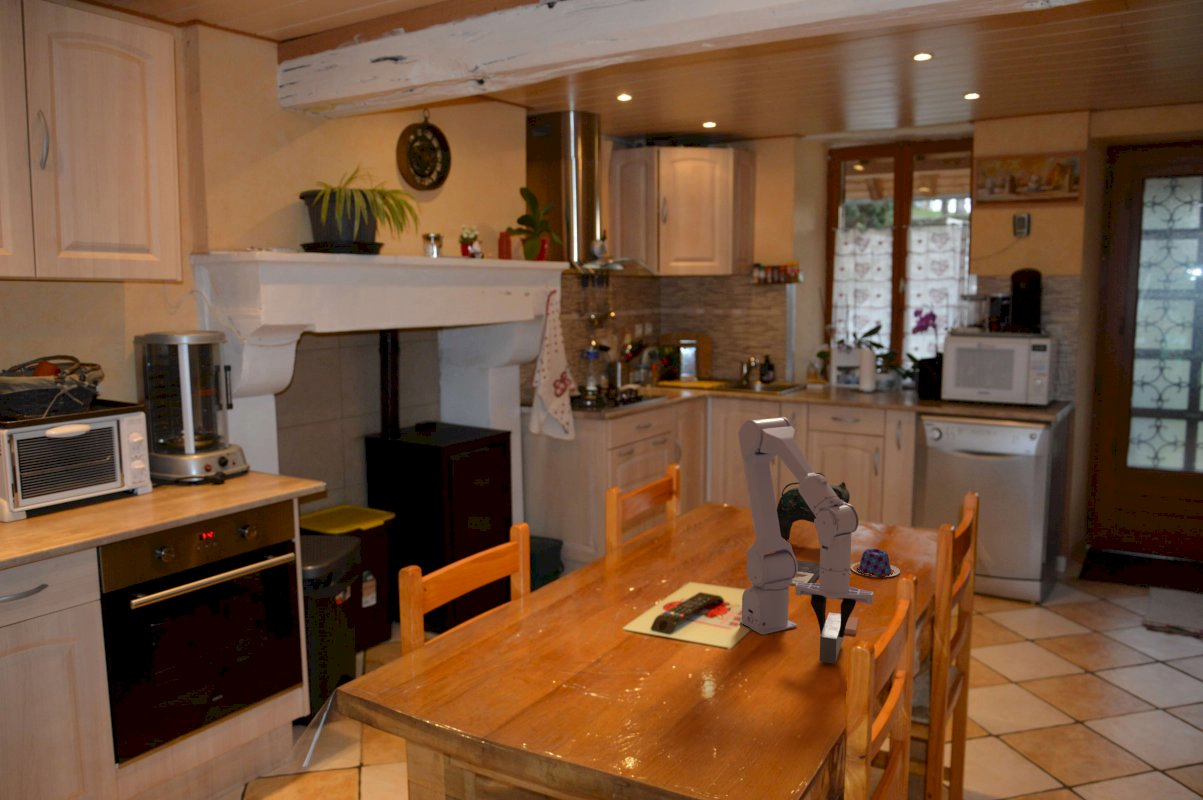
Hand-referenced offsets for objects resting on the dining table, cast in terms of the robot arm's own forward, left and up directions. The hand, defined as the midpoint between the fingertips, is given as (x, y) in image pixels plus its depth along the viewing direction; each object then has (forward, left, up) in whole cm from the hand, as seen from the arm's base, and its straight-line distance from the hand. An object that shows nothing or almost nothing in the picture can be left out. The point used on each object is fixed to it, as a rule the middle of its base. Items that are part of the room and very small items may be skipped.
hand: (832, 634), depth 178 cm
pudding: (+46, +33, -5) cm, 57 cm away
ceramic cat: (+48, +59, -5) cm, 76 cm away
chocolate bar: (+28, +40, -5) cm, 49 cm away
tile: (+10, +8, -4) cm, 13 cm away
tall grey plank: (0, 0, -3) cm, 3 cm away
